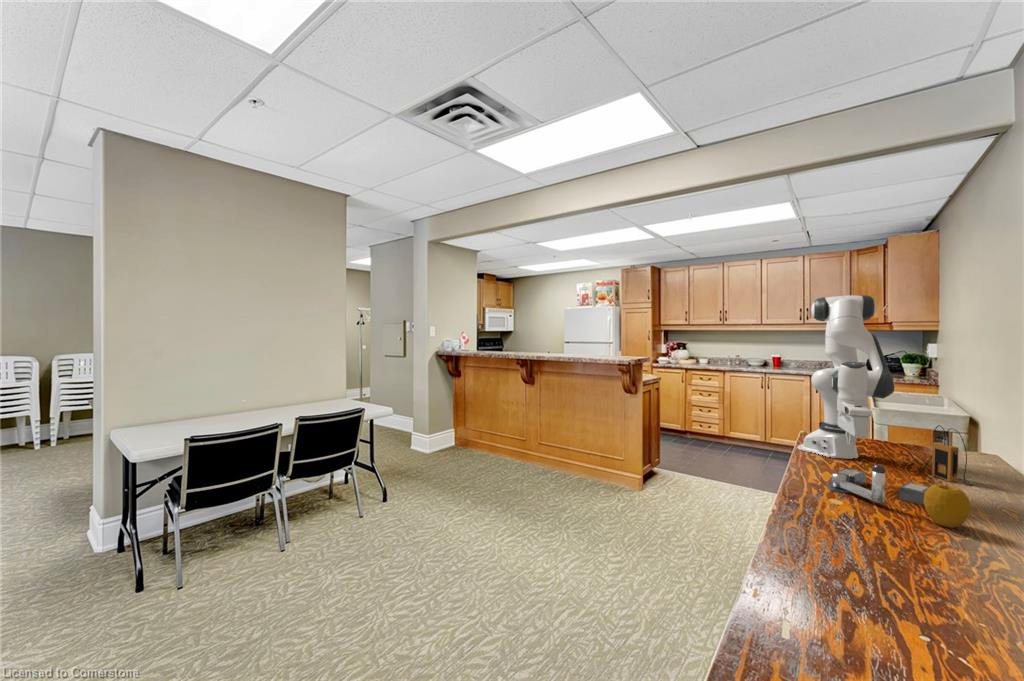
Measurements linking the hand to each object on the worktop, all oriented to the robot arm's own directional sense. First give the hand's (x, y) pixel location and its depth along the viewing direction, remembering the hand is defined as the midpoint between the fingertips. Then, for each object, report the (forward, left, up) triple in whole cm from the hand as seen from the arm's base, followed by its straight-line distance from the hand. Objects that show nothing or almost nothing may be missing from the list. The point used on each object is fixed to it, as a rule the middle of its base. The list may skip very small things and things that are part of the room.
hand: (851, 444), depth 157 cm
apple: (+29, -17, -14) cm, 37 cm away
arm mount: (0, -11, -14) cm, 18 cm away
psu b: (0, 0, -14) cm, 14 cm away
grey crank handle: (+7, -14, -13) cm, 20 cm away
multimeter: (+19, +39, -14) cm, 46 cm away
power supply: (+18, +1, -14) cm, 23 cm away
